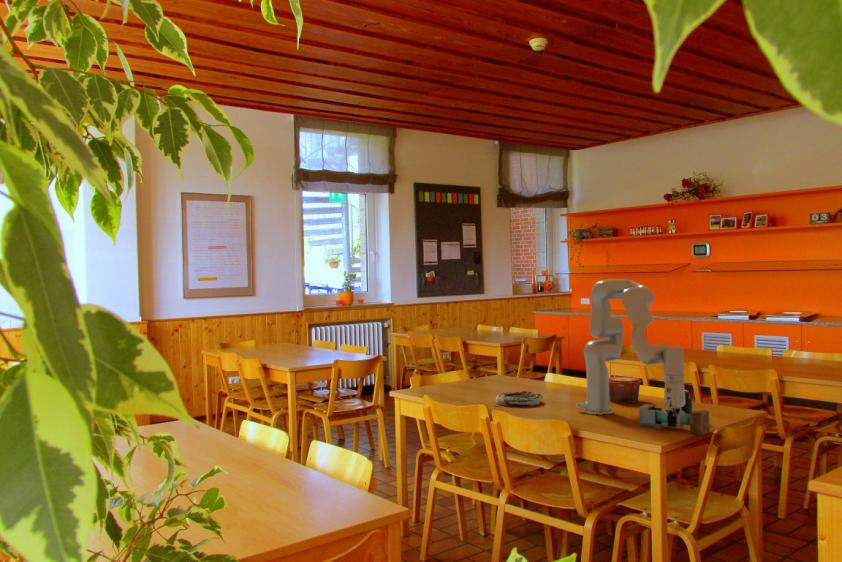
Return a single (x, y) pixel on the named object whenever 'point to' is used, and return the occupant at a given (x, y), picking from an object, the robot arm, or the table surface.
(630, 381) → the food container
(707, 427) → the socket block
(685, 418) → the tube
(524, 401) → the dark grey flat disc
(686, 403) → the supplement bottle
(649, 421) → the sleeve
